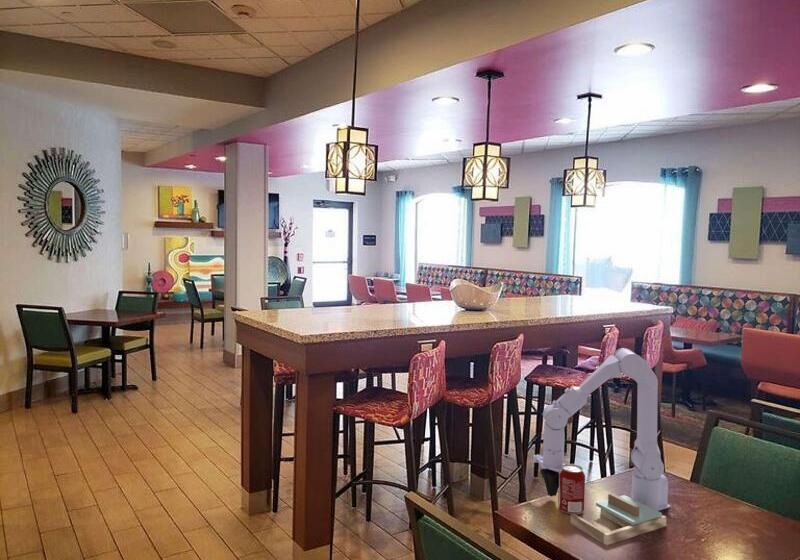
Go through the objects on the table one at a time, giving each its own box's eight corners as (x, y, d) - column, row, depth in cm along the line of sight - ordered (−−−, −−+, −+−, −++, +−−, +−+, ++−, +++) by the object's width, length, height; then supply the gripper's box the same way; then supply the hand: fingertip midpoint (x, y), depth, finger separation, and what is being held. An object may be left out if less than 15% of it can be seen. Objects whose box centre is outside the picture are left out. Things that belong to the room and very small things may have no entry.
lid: (624, 497, 159) (624, 486, 159) (661, 516, 149) (662, 503, 149) (596, 505, 154) (596, 493, 154) (632, 525, 144) (633, 512, 144)
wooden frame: (624, 505, 161) (625, 496, 161) (666, 526, 149) (666, 516, 149) (567, 521, 151) (567, 512, 150) (606, 545, 139) (607, 535, 139)
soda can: (585, 517, 153) (586, 473, 152) (558, 514, 154) (560, 471, 154) (582, 506, 160) (583, 464, 159) (557, 503, 161) (558, 461, 160)
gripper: (525, 442, 167) (524, 487, 168) (561, 458, 154) (559, 508, 155) (544, 438, 170) (542, 483, 171) (580, 454, 158) (578, 503, 159)
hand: (552, 495), depth 164 cm, fingers closed
